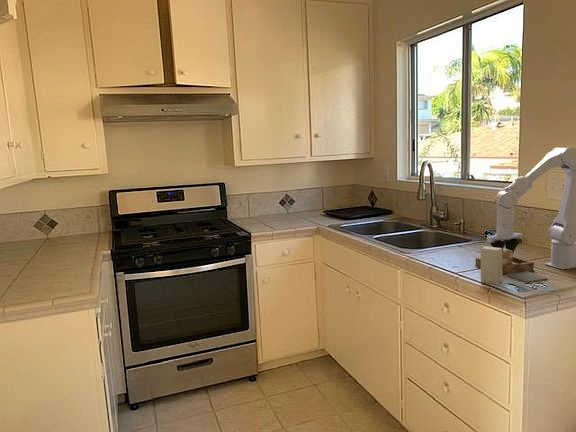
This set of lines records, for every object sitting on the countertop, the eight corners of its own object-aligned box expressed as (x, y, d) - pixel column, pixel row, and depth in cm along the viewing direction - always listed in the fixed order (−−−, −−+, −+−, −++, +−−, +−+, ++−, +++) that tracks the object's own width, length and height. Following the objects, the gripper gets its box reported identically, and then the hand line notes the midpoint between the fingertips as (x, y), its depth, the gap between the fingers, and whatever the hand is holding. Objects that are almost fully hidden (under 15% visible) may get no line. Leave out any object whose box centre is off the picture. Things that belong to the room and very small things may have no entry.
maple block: (504, 260, 172) (504, 248, 171) (512, 263, 168) (512, 250, 168) (495, 262, 171) (495, 249, 170) (503, 264, 167) (503, 251, 167)
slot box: (505, 261, 179) (505, 253, 178) (533, 270, 165) (533, 262, 165) (475, 265, 175) (475, 258, 174) (501, 275, 162) (502, 267, 161)
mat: (526, 272, 163) (526, 271, 163) (547, 279, 154) (547, 278, 154) (506, 276, 160) (506, 274, 160) (526, 283, 152) (526, 281, 152)
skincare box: (502, 282, 154) (503, 247, 152) (498, 285, 151) (499, 250, 149) (484, 279, 158) (485, 245, 156) (479, 282, 155) (480, 248, 153)
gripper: (512, 220, 173) (511, 254, 175) (481, 223, 169) (480, 258, 171) (527, 223, 167) (525, 258, 169) (494, 226, 163) (493, 263, 165)
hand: (503, 259), depth 170 cm, fingers closed on maple block, 4 cm apart
